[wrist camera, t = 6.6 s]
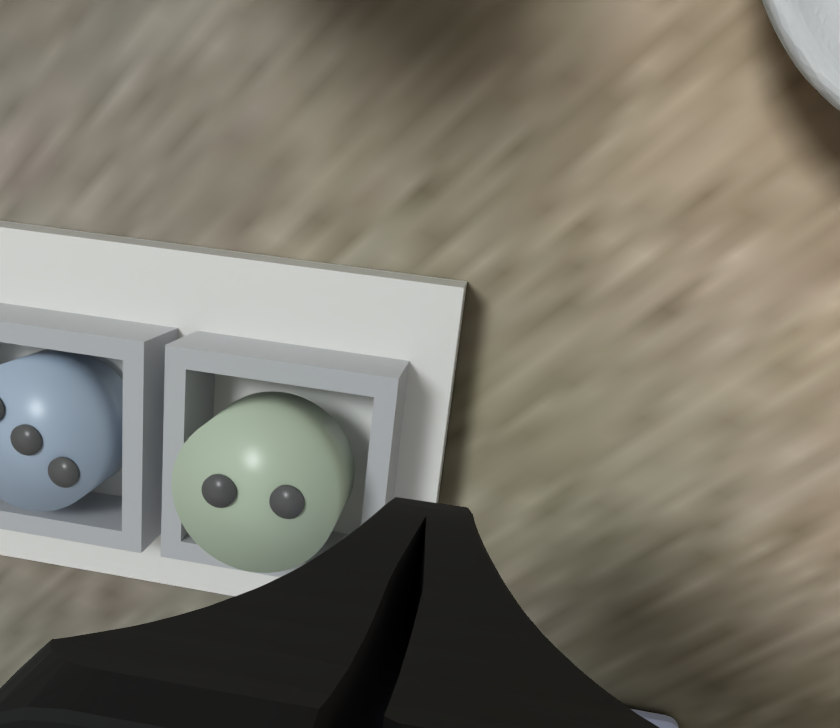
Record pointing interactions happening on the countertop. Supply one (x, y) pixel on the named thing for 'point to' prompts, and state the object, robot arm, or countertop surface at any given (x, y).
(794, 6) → the spoon rest
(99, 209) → the countertop surface
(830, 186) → the countertop surface
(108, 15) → the countertop surface
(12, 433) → the slate three pip button
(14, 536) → the button panel
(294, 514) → the sage two pip button
